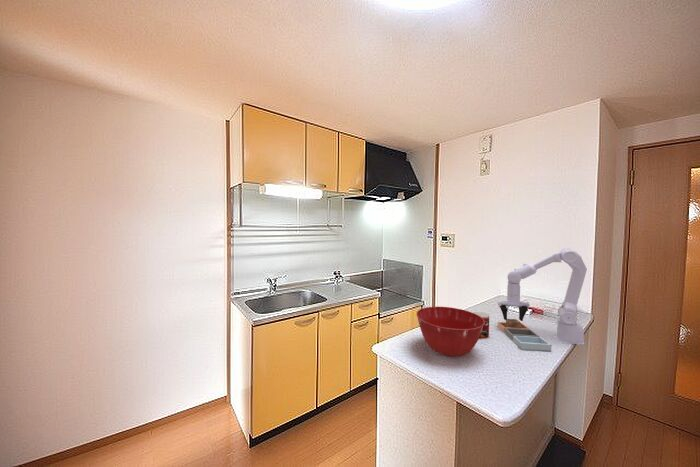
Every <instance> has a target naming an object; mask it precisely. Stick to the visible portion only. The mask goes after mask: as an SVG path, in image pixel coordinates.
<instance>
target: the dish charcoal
mask: <svg viewBox="0 0 700 467" xmlns="http://www.w3.org/2000/svg"><path fill="white" fill-rule="evenodd" d="M504 334H505V336H507V337H508V339H510V340H511V341H513V336H529V337H541V336H540V335H539V334H537V333H536V332H535V331H534V330H532V329H530V330H528V329H508V328H505V333H504Z"/></svg>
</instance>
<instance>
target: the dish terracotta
mask: <svg viewBox="0 0 700 467" xmlns="http://www.w3.org/2000/svg"><path fill="white" fill-rule="evenodd" d="M497 327H498V329H500V331H501V332H502V333H504V334H505V328H508V327H506V321H497ZM508 329H528V330H531V329H530V328H529V327H528V326H526V325H525V323H523V322H521V328H508Z"/></svg>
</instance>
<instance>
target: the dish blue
mask: <svg viewBox="0 0 700 467" xmlns="http://www.w3.org/2000/svg"><path fill="white" fill-rule="evenodd" d="M512 342H513V343H514V344H515V345H516V346H518V349H520V350H522V351H535V352H536V351H537V352H538V351H539V352H552V344H551V343H549V342H548V341H547V340H545V339H544V338H543V337H542V336H540V337H529V336H513V340H512Z"/></svg>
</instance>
